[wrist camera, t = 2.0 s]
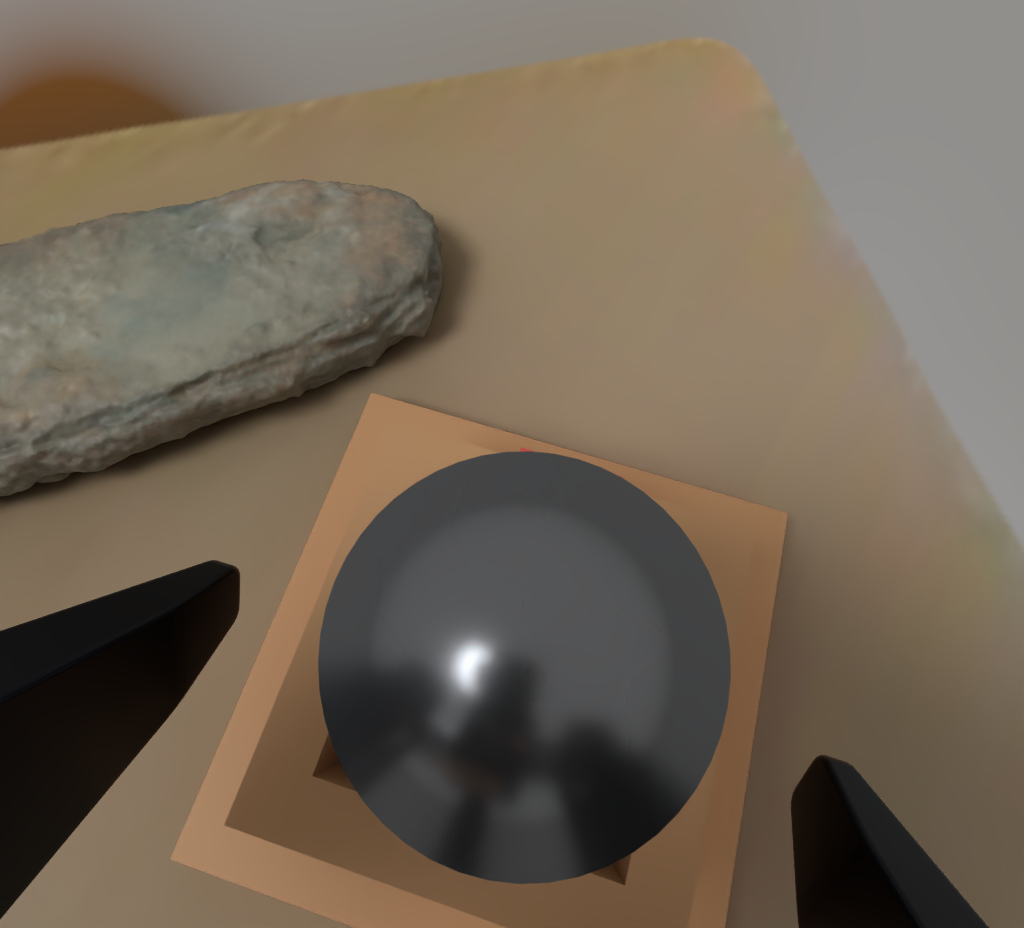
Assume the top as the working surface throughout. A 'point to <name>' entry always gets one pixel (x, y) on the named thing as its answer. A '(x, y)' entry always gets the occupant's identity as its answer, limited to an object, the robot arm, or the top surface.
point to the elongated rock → (199, 316)
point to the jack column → (524, 667)
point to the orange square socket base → (348, 820)
